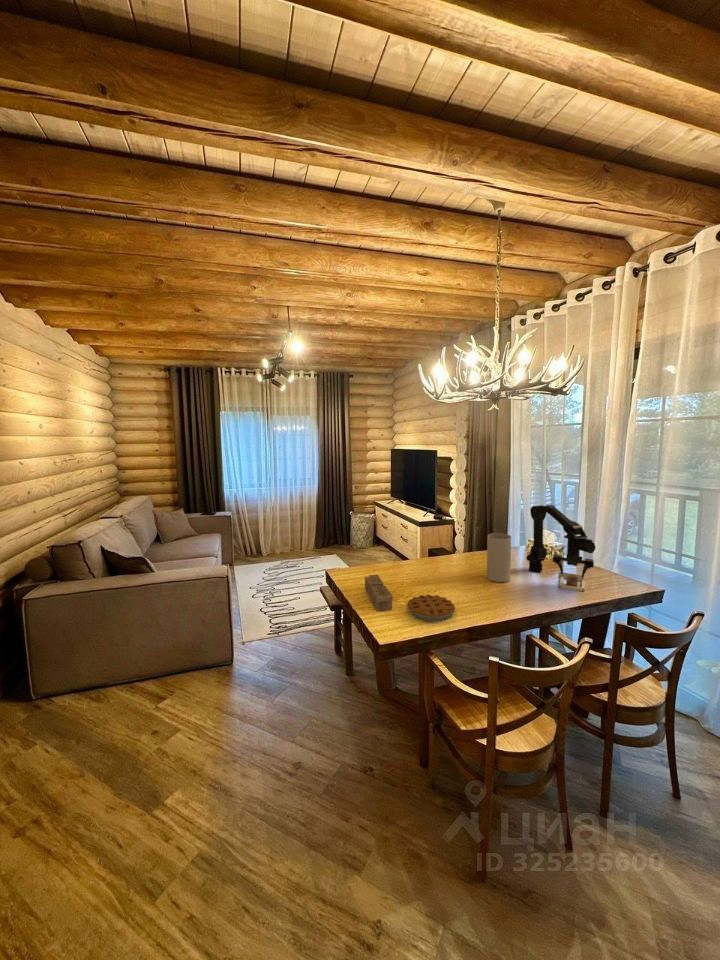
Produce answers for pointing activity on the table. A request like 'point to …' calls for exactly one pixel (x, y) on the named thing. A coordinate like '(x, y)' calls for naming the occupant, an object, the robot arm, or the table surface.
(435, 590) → the table surface
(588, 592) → the table surface
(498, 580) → the cylinder vase
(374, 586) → the block tower
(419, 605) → the pie
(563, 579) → the light wooden flat tray
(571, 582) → the block
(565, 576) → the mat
